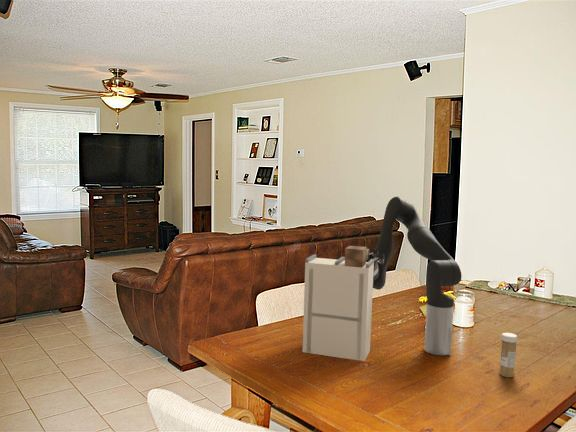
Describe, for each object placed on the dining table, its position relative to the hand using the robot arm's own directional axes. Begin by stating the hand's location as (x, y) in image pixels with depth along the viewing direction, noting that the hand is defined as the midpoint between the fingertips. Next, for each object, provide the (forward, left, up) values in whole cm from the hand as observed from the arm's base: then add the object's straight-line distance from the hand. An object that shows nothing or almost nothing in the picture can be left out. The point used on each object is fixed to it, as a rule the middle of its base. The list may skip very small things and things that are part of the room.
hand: (362, 249), depth 186 cm
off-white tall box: (+6, +10, -36) cm, 37 cm away
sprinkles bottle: (-50, +9, -36) cm, 62 cm away
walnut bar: (0, +5, -4) cm, 6 cm away
